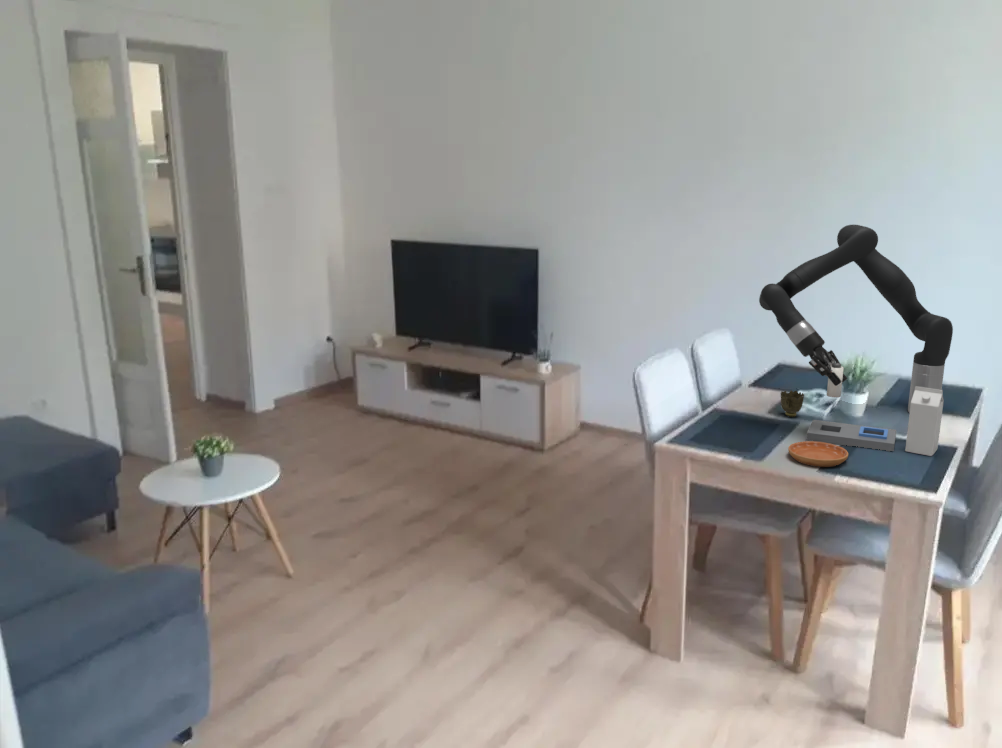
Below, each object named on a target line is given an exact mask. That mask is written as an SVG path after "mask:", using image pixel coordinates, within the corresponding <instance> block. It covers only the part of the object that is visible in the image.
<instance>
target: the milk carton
mask: <svg viewBox="0 0 1002 748" xmlns="http://www.w3.org/2000/svg"><path fill="white" fill-rule="evenodd" d="M943 392H944V390H943V389H942V390H938V389H931V388H924V387H917V386H915V391H914V394H913V397H912V400H911V406H910V413H909V416H908V425H907V432H906V441H905V448H904V449H905V450H904V451H905V452H908V453H913V454H917V455H918V454H919V455H924V456H929V457H933V456H934V454H935V453H936V452H937V450H938V448H939V440H940V434H941V425H942V416H943V408H944V401H945V400H944V395H943Z"/></svg>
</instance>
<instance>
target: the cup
mask: <svg viewBox="0 0 1002 748" xmlns="http://www.w3.org/2000/svg"><path fill="white" fill-rule="evenodd" d="M804 398H805V393H803V392H801V391H800V392H798V391H797V390H795V391H793V390H792V389H791V390H790V391H789V392H787V391H786V390H784V391H781V392H780V405H781V408H782V410H783V412H784V415H785V416H786V417H787V416H789V417H788V418H795V417H797V415H798V414H797V413H799V412H800V411H801V409H802V407H803V403H804Z"/></svg>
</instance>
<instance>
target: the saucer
mask: <svg viewBox="0 0 1002 748" xmlns="http://www.w3.org/2000/svg"><path fill="white" fill-rule="evenodd" d="M787 449H788V454H789V455H790V456H791V457H792V458H793V459H794V460H795V461H797V462H798V463H801V464H803V465H807V466H812V467H818V466H819V467H820V468H830V467H836V465H837V466H839V465H841V464H842V463H845V461H846V460H847V459H848V457H849V452H848V451H847V449H845V448H844V447H842V446H841V445H837V444H830V443H824V442H815V441H807V440H806V441H799V442H794V443H791V444H790V445H789V446H788V448H787ZM819 467H818V468H819Z"/></svg>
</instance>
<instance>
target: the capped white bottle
mask: <svg viewBox="0 0 1002 748" xmlns="http://www.w3.org/2000/svg"><path fill="white" fill-rule="evenodd" d="M830 367H831V368H832V370H833V372H834V373H835V374H836V375H837V376H838V377H839V379H840V380H841V383H840V384H838V385H837V386H835V385H834V384H833V383H832V381H831V380H830V379H829V378H828V377H827V388H826V396H827V397H830V398H841V397H842V388H843V386H842V385H843V382H842V379H843V373H844V366H842V363H841V362H840V363H836V362H835V363H832V366H830Z"/></svg>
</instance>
